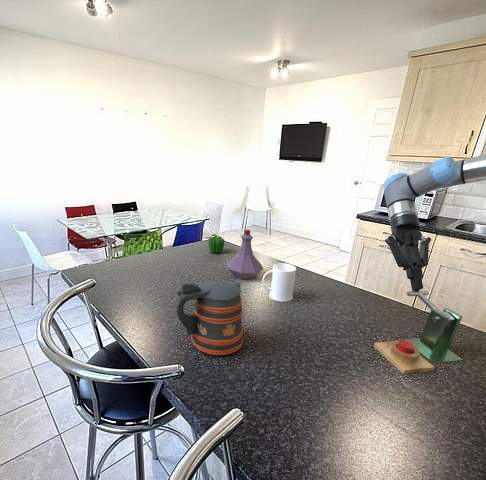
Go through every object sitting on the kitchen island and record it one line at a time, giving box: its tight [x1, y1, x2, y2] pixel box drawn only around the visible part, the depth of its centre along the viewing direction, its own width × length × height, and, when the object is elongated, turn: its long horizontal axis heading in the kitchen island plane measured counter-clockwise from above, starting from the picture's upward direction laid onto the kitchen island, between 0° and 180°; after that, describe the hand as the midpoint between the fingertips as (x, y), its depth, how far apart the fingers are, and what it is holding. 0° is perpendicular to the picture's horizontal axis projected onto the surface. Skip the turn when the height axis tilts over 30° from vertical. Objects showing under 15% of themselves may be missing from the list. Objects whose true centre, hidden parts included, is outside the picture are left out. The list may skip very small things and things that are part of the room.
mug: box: [261, 262, 297, 303], centre depth 107 cm, size 12×8×12 cm
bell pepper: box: [207, 233, 225, 254], centre depth 152 cm, size 8×8×10 cm
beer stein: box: [176, 280, 244, 357], centre depth 79 cm, size 19×15×20 cm
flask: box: [226, 229, 265, 280], centre depth 123 cm, size 16×16×20 cm
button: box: [397, 339, 415, 354], centre depth 76 cm, size 4×4×2 cm
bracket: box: [404, 307, 464, 364], centre depth 78 cm, size 10×9×13 cm
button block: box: [373, 340, 436, 375], centre depth 77 cm, size 8×11×4 cm
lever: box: [406, 289, 454, 326], centre depth 80 cm, size 12×6×2 cm, turn 9°
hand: (417, 289), depth 84 cm, fingers closed
